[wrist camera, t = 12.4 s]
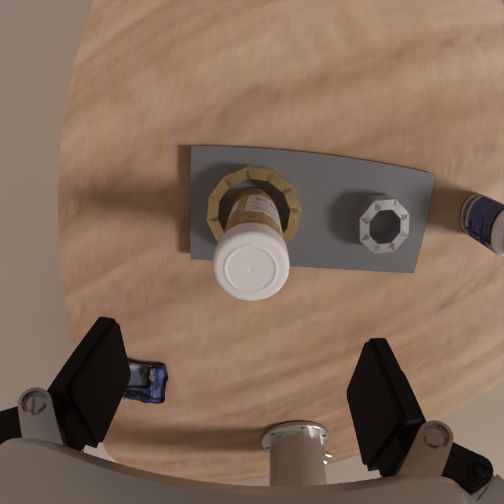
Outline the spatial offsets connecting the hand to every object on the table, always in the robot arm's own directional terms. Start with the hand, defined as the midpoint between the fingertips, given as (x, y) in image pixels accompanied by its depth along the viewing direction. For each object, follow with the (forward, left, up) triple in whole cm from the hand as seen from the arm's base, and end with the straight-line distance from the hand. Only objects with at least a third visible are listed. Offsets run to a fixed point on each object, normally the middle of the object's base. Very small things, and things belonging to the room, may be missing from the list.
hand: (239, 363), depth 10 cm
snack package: (-1, +32, -23) cm, 39 cm away
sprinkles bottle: (0, 0, -21) cm, 21 cm away
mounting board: (-5, -4, -22) cm, 23 cm away
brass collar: (0, 0, -21) cm, 21 cm away
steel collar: (-10, -8, -21) cm, 25 cm away
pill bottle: (-22, -18, -23) cm, 36 cm away
